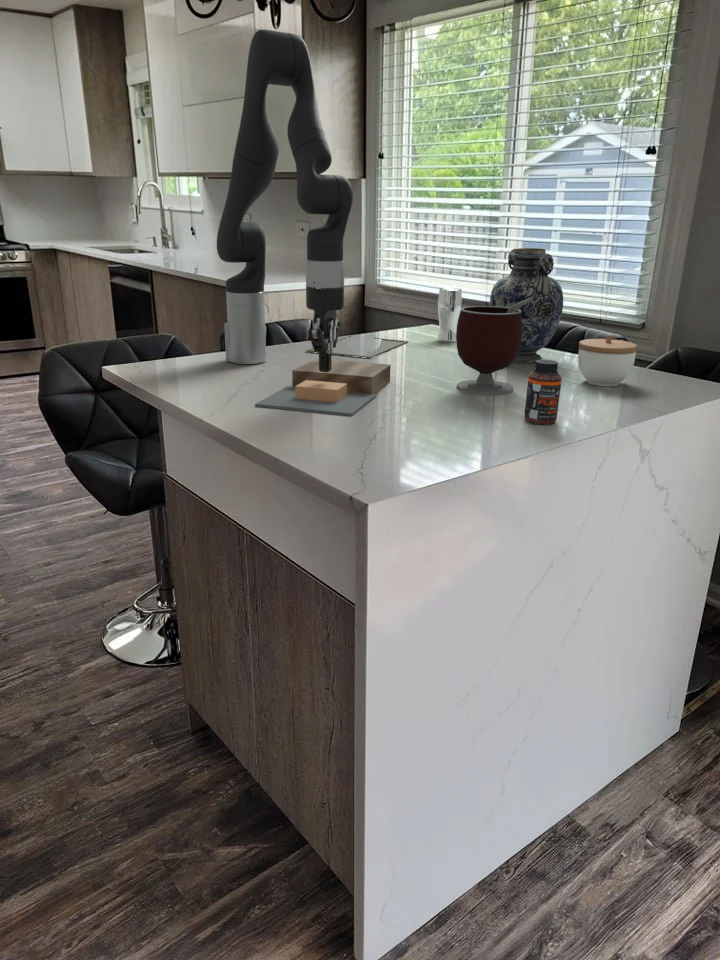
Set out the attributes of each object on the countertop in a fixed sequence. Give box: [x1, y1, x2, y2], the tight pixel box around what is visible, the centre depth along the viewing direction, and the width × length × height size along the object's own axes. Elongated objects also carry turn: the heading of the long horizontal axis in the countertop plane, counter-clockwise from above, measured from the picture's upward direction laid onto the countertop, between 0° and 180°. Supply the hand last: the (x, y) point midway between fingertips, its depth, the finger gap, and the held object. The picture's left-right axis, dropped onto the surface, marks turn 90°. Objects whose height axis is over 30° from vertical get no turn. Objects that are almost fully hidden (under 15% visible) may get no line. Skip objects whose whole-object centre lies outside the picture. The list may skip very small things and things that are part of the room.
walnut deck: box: [291, 358, 391, 394], centre depth 161 cm, size 18×14×4 cm
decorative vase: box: [489, 247, 564, 364], centre depth 189 cm, size 21×19×28 cm
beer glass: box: [437, 287, 463, 343], centre depth 217 cm, size 7×7×15 cm
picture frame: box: [305, 335, 409, 359], centre depth 206 cm, size 19×1×28 cm
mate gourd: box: [455, 298, 533, 396], centre depth 157 cm, size 16×14×20 cm
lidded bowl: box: [577, 334, 638, 387], centre depth 166 cm, size 13×13×11 cm
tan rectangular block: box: [295, 380, 347, 402], centre depth 149 cm, size 9×6×2 cm, turn 72°
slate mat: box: [254, 385, 377, 417], centre depth 147 cm, size 20×16×1 cm
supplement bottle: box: [523, 359, 562, 426], centre depth 134 cm, size 6×6×11 cm
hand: (325, 371), depth 150 cm, fingers closed
